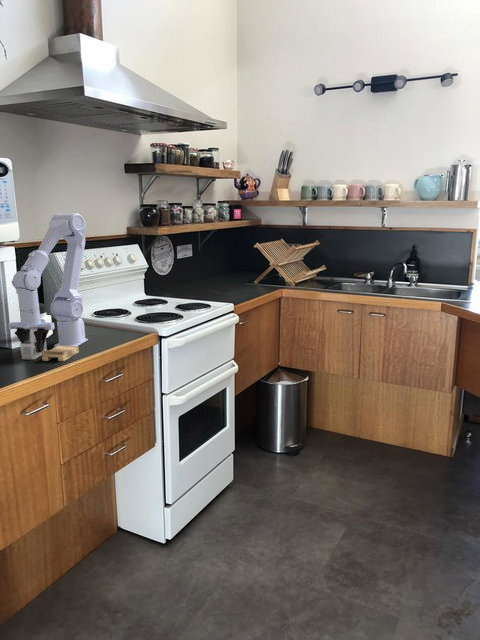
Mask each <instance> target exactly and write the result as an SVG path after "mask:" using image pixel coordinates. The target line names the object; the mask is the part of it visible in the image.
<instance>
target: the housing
mask: <svg viewBox="0 0 480 640" xmlns="http://www.w3.org/2000/svg"><path fill="white" fill-rule="evenodd" d="M47 347H48V345H47V339H46V340H45V344H44V350H48V348H47ZM20 353H21V359H22V360H36V359H38V358H39V357H42V352H38V349H37V342H36V338H35V337H34V338H31V339H29V340H27V341H25V342H23V343H21V342H20Z"/></svg>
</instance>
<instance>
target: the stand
mask: <svg viewBox="0 0 480 640" xmlns="http://www.w3.org/2000/svg"><path fill="white" fill-rule="evenodd" d="M79 349H80V348H79V346H57V347H53V348H52V349H49V350H48V349H47V350H43V351H42V355H41V359H42V361H44V362H48V361H51V360H52V359H54V358H57V361H58V362H65V361H66V360H68V359H70V358H72V357H73V356H74V355H77V354H78V353H80V350H79Z"/></svg>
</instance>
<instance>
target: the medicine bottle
mask: <svg viewBox="0 0 480 640" xmlns="http://www.w3.org/2000/svg"><path fill="white" fill-rule="evenodd" d="M39 311H40V320H41V322H49V323H53V321H52V314H49V315H48V314H47V305H46V304H45V303H43V302H42V303H41V302H39ZM36 330H37V329H30V339H31V338H34V337H35V335H34V333H33V332H34V331H36ZM53 332H54V331H53V330H49V332H48V334H47V336H46V339H47V338H49V337H50V336H51V335H53Z"/></svg>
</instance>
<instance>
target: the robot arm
mask: <svg viewBox="0 0 480 640" xmlns="http://www.w3.org/2000/svg"><path fill="white" fill-rule="evenodd" d="M86 229H87V222H86V220H85V219H84V217H83V215H82V214H80V213H78V212H74V213H58V212H57V213H55V214H53V215H52V216H51V219H50V221H48V229H47V231H46V233H45V235H44V237H43V239H42V240H41V243H40V245H39V246H38V248H37V249H36V250H32V251H31V252H30V253H28V258H27V260H26V261H25V262H24V264H23V265H22V266H21V268H20V270H19V271H17V272H15V274H14V275H13V277H12V280H11V285H12V287H13V288H14V289H15V292H16V294H17V299H18V310H19V315H20V316H19V317H20V321H14V322H13V321H11V322H8V330H15V331H14V335H15V336H16V337H17V338H18V340H19V342H20V344H21V343H23V342H25V341H27V340H29V339H30V329H37V330H36V331H34V332H33V333H34V335H35V338H36V342H37V349H38V352H42V351H43V350H44V344H45V340H46V341H47V338H46V336H47V334H48V332H49V330H52V331H53V330H54V329H55V327H56V326H57V336H58V343H56V344H54V345H53V348H55V347H57V346H78V347H79V346H81V345H82V344H84V343H85V342H87V341H88V340H89V339H88V338H86V332H85V331H86V330H85V329H86V328H85V322H84V320H83V318H81V317H82V315H83V312H84V303H83V300H84V299H83V296H81V294H80V293H79V292H78V291H79V287H80V286H79V285H80V280H81V279H80V278H81V272H82V265H83V261H84V260H83V259H84V253H85V246H86V235H85V234H86ZM61 238H62V239H63V240H64V241H66V243H67V246H66V247H67V249H66V252H65V253H66V254H65V258H64V259H65V260H64V267H63V271H62V272H63V273H62V280H61V284H60V289H59V290H58V291H57V292H56V293H55V294H54V298H53V299H52V302H51V303H50V313H51V315H52V316H54V319H55V320H56V326H55V322H52V323H49V322H41V320H40V311H39V303H40V302H39V294H38V288H39V287H40V286H41V282H42V281H41V280H42V279H41V277H42V274H43V272H44V270H45V269H46V267H47V266H48V264H49V262H50V259H49V255H50V253H51V252H52V250H53V249H54V247H55V246H56V245H57V243H59V240H60V239H61Z"/></svg>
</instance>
